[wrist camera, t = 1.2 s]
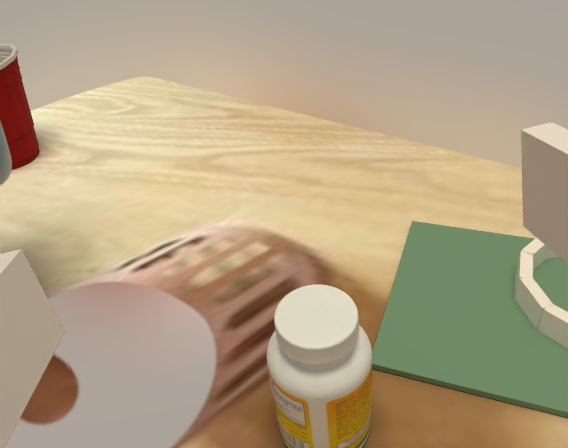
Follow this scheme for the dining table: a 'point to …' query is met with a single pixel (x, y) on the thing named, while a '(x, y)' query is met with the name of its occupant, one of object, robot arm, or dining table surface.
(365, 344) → the supplement bottle
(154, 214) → the dining table surface
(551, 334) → the segmented ring wall
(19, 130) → the plastic cup
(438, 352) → the putting mat
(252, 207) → the dining table surface
